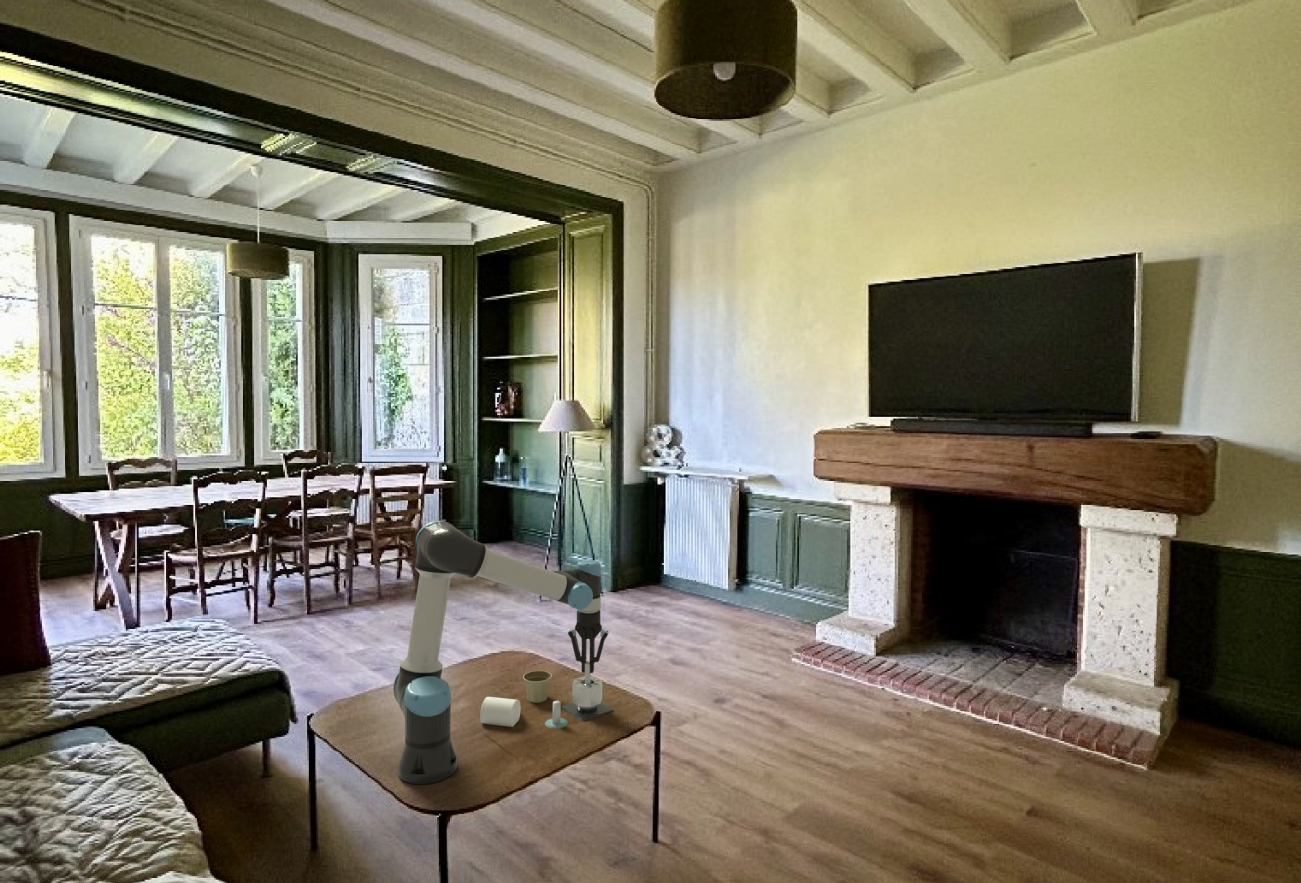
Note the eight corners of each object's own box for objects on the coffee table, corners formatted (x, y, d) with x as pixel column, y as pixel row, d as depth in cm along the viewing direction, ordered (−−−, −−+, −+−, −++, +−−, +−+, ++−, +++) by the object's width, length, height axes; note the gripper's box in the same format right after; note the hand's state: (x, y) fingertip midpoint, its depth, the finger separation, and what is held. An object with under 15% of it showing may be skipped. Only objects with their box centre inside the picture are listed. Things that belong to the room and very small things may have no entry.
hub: (582, 724, 223) (583, 695, 222) (560, 711, 232) (561, 682, 231) (613, 713, 230) (614, 685, 230) (591, 701, 240) (591, 673, 239)
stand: (553, 733, 216) (553, 709, 216) (540, 725, 221) (540, 701, 221) (572, 727, 221) (572, 703, 220) (559, 719, 226) (559, 695, 225)
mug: (510, 732, 217) (511, 706, 216) (479, 728, 219) (479, 702, 218) (525, 715, 229) (525, 690, 228) (496, 711, 231) (496, 687, 230)
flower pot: (543, 709, 233) (543, 683, 232) (517, 705, 236) (517, 679, 235) (556, 698, 242) (556, 672, 241) (531, 693, 245) (531, 668, 244)
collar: (599, 707, 226) (599, 688, 225) (570, 705, 226) (570, 687, 226) (603, 695, 235) (603, 677, 234) (575, 694, 235) (576, 676, 235)
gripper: (610, 607, 232) (609, 678, 234) (570, 605, 233) (569, 677, 235) (607, 614, 225) (606, 688, 226) (566, 612, 226) (565, 686, 227)
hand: (587, 682), depth 230 cm, fingers closed
